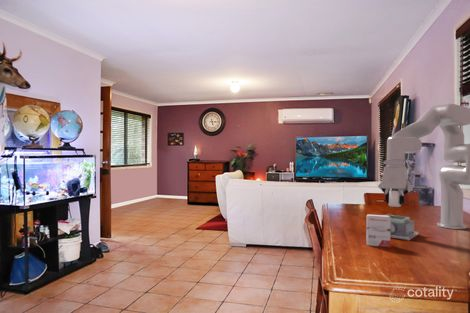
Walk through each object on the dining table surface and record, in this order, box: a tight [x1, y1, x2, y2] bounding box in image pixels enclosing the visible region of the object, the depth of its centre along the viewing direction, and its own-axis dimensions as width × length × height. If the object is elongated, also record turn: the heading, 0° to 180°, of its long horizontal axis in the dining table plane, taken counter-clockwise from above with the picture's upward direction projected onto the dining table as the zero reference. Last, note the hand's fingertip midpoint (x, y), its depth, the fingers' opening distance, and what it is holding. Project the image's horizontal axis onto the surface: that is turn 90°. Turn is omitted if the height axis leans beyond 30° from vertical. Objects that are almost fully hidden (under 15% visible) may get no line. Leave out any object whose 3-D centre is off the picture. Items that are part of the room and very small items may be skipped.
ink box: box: [365, 214, 392, 248], centre depth 132 cm, size 9×5×12 cm, turn 71°
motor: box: [385, 214, 419, 241], centre depth 151 cm, size 16×16×8 cm
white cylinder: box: [388, 189, 402, 208], centre depth 151 cm, size 5×5×8 cm
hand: (394, 203), depth 151 cm, fingers closed on white cylinder, 5 cm apart
